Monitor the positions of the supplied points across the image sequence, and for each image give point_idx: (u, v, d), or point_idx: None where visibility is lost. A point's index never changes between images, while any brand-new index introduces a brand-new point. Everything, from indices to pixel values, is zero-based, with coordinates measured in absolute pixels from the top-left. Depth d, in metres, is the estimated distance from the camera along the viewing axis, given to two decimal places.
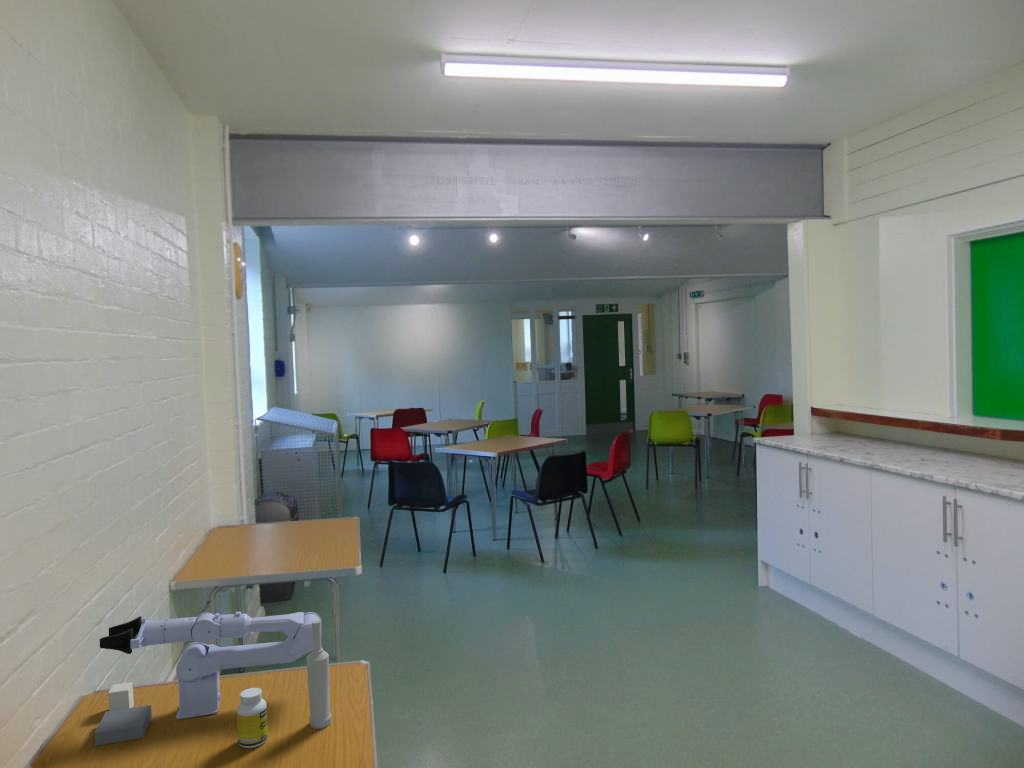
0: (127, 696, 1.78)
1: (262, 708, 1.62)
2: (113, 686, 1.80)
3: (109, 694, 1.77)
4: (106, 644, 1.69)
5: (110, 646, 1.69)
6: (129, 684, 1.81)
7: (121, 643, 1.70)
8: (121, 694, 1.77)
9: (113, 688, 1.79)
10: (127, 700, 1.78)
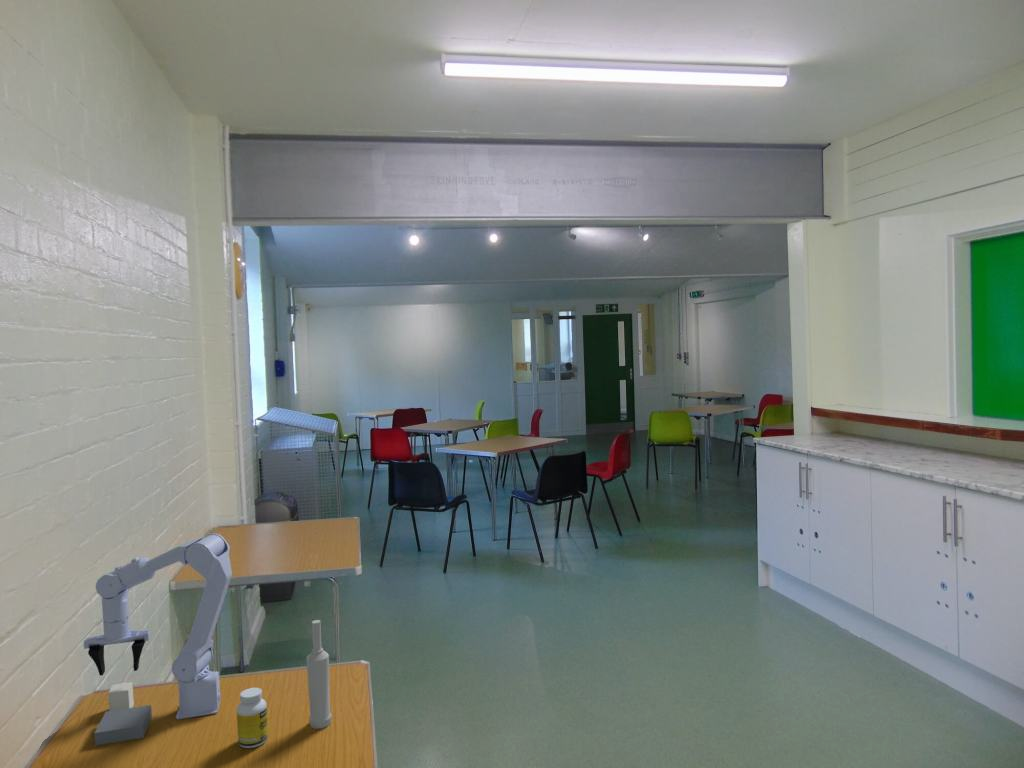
0: (127, 696, 1.78)
1: (262, 708, 1.62)
2: (113, 686, 1.80)
3: (109, 694, 1.77)
4: None
5: None
6: (129, 684, 1.81)
7: None
8: (121, 694, 1.77)
9: (113, 688, 1.79)
10: (127, 700, 1.78)
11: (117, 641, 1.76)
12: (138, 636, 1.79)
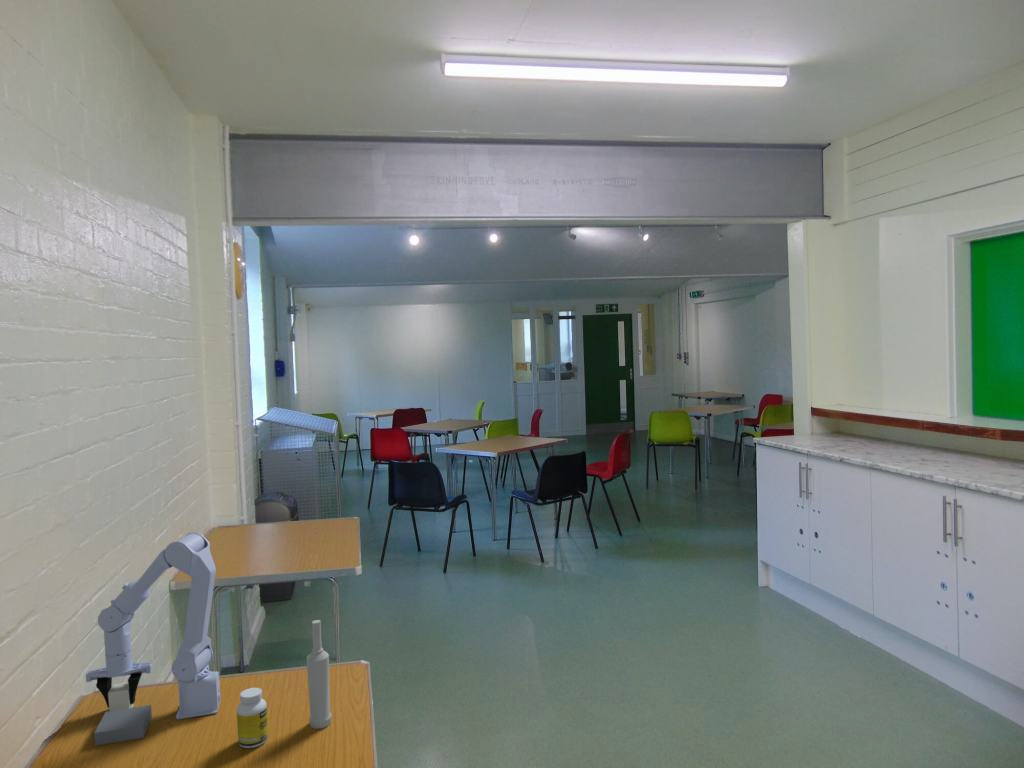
0: (127, 696, 1.78)
1: (262, 708, 1.62)
2: (113, 686, 1.80)
3: (109, 694, 1.77)
4: None
5: None
6: None
7: None
8: (121, 694, 1.77)
9: (113, 688, 1.79)
10: (127, 700, 1.78)
11: (119, 674, 1.76)
12: (140, 669, 1.79)
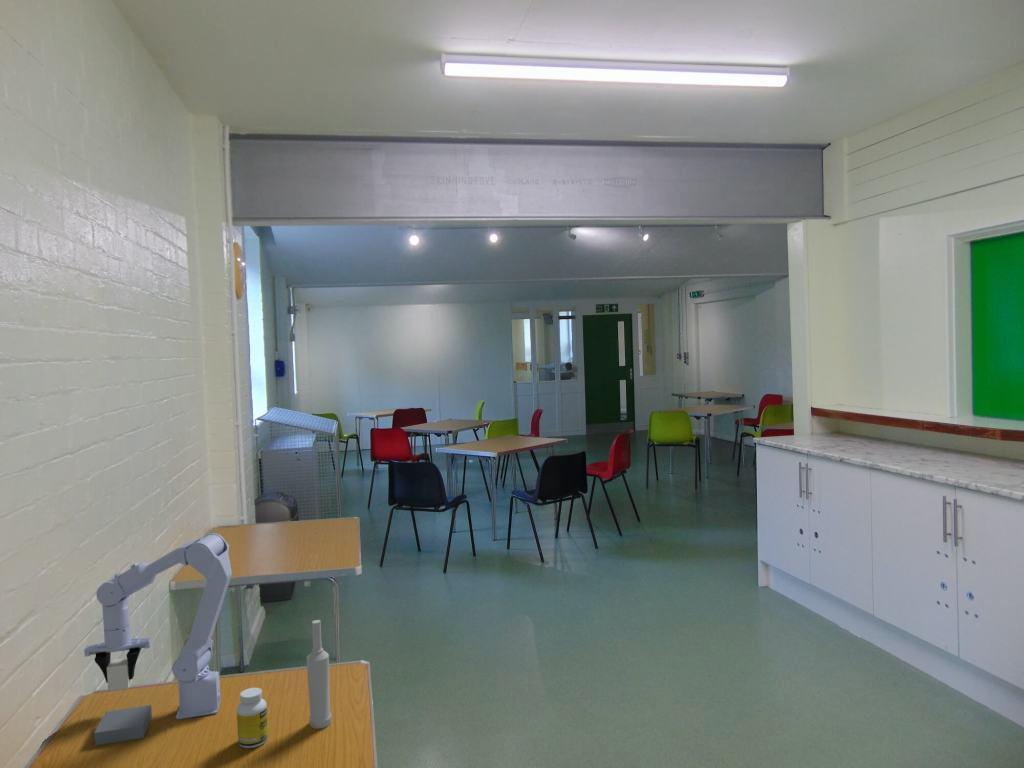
0: (126, 671, 1.77)
1: (262, 708, 1.62)
2: (112, 661, 1.79)
3: (108, 669, 1.75)
4: None
5: None
6: None
7: None
8: (120, 669, 1.76)
9: (111, 663, 1.77)
10: (126, 675, 1.77)
11: (118, 649, 1.75)
12: (139, 644, 1.78)
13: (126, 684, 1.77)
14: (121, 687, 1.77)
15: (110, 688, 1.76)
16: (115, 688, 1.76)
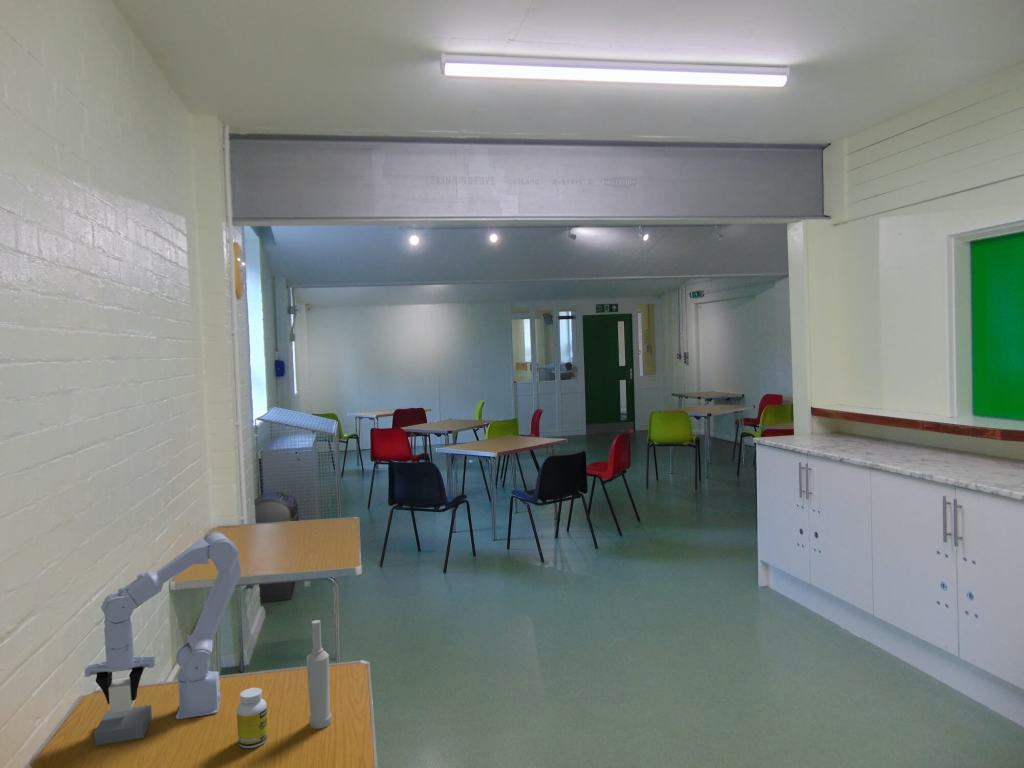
0: (129, 691, 1.68)
1: (262, 708, 1.62)
2: (114, 681, 1.70)
3: (109, 689, 1.67)
4: None
5: None
6: None
7: None
8: (122, 689, 1.67)
9: (113, 683, 1.69)
10: (129, 696, 1.68)
11: (120, 669, 1.66)
12: (142, 663, 1.69)
13: (129, 705, 1.68)
14: (123, 709, 1.68)
15: (112, 710, 1.67)
16: (117, 710, 1.67)
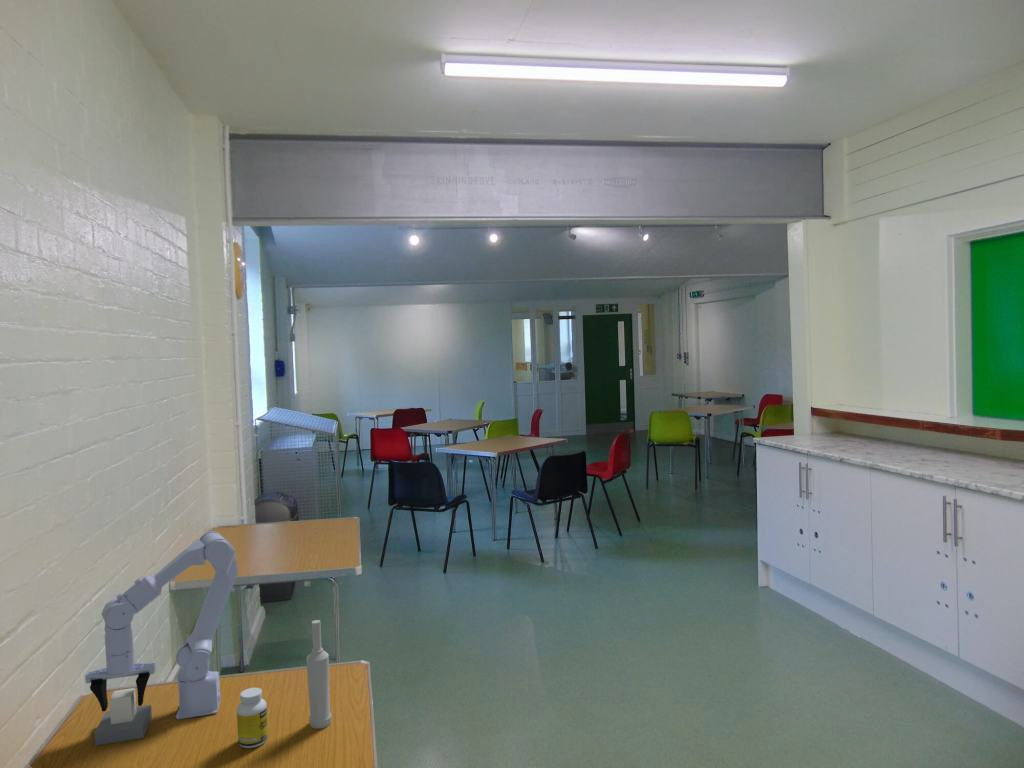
0: (129, 703, 1.68)
1: (262, 708, 1.62)
2: (115, 692, 1.70)
3: (110, 701, 1.67)
4: None
5: None
6: (132, 690, 1.71)
7: None
8: (123, 701, 1.68)
9: (114, 695, 1.69)
10: (129, 707, 1.68)
11: (120, 675, 1.66)
12: (143, 669, 1.69)
13: (130, 717, 1.68)
14: (124, 720, 1.68)
15: (113, 721, 1.67)
16: (118, 721, 1.68)
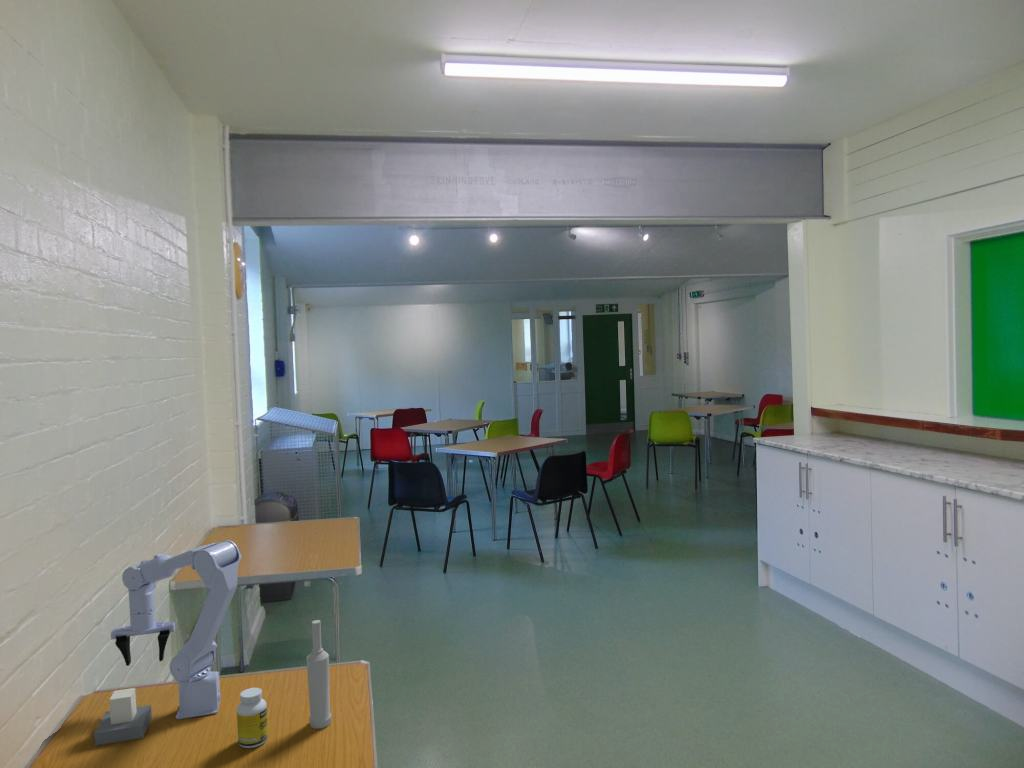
0: (129, 703, 1.68)
1: (262, 708, 1.62)
2: (115, 692, 1.70)
3: (110, 701, 1.67)
4: None
5: None
6: (132, 690, 1.71)
7: None
8: (123, 701, 1.68)
9: (114, 695, 1.69)
10: (129, 707, 1.68)
11: (144, 632, 1.80)
12: (164, 627, 1.83)
13: (130, 717, 1.68)
14: (124, 720, 1.68)
15: (113, 721, 1.67)
16: (118, 721, 1.68)
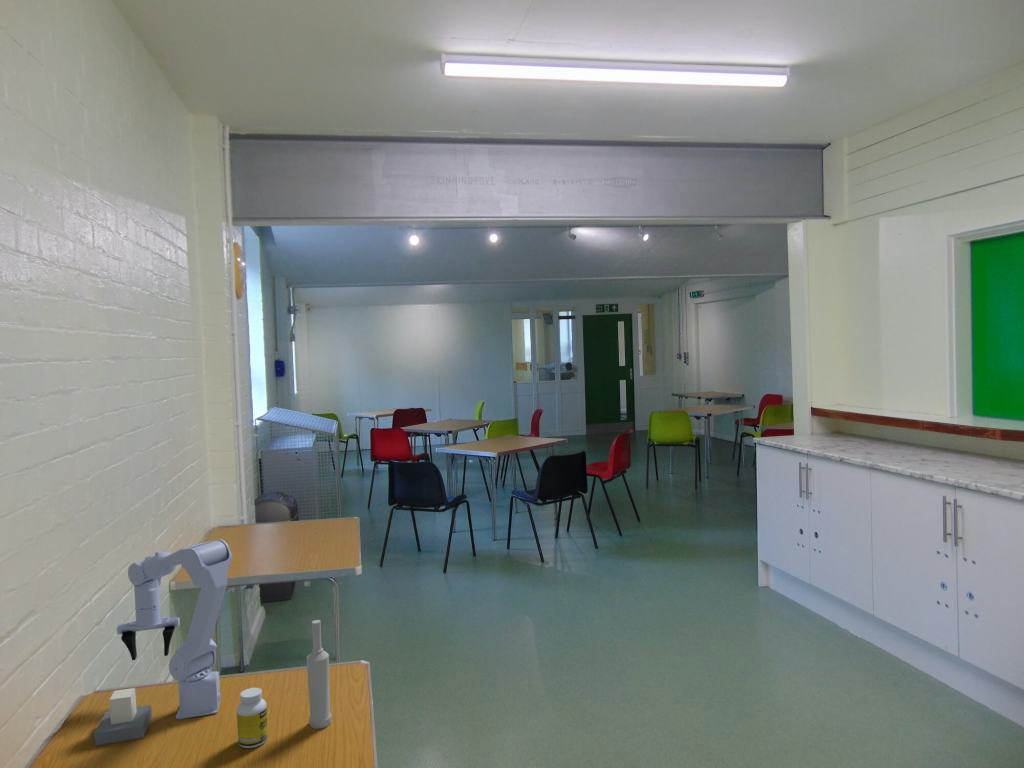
0: (129, 703, 1.68)
1: (262, 708, 1.62)
2: (115, 692, 1.70)
3: (110, 701, 1.67)
4: None
5: None
6: (132, 690, 1.71)
7: None
8: (123, 701, 1.68)
9: (114, 695, 1.69)
10: (129, 707, 1.68)
11: (149, 627, 1.83)
12: (169, 622, 1.86)
13: (130, 717, 1.68)
14: (124, 720, 1.68)
15: (113, 721, 1.67)
16: (118, 721, 1.68)
